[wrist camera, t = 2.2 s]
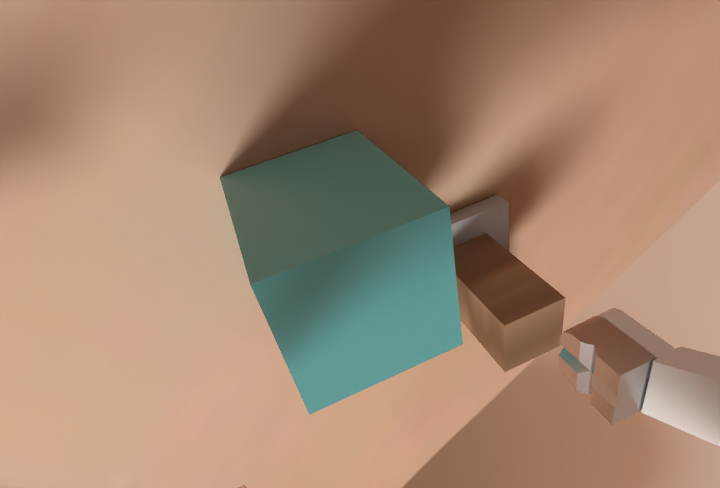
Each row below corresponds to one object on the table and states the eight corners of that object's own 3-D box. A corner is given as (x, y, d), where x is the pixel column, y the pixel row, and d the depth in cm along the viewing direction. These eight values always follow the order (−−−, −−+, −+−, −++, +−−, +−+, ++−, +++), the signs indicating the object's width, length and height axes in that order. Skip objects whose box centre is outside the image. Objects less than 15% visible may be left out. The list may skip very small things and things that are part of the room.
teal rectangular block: (219, 177, 16) (250, 284, 10) (357, 129, 17) (449, 206, 11) (267, 287, 19) (309, 414, 13) (381, 242, 20) (462, 344, 14)
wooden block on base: (399, 233, 20) (473, 315, 15) (497, 194, 21) (595, 260, 16) (413, 313, 23) (479, 403, 18) (499, 276, 23) (582, 352, 19)
